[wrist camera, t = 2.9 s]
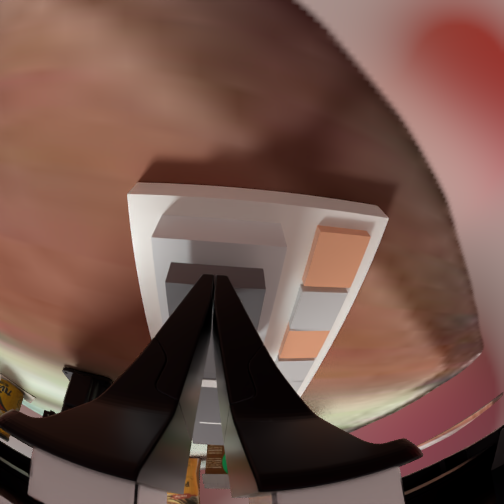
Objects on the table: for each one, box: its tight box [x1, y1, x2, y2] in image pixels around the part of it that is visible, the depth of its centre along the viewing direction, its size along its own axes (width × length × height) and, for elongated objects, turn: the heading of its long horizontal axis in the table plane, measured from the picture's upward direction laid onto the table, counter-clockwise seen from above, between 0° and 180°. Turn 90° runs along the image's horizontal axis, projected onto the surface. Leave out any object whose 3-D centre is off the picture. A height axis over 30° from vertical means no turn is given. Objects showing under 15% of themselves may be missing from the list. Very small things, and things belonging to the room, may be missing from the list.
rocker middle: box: [195, 372, 221, 423], centre depth 16 cm, size 6×4×1 cm, turn 173°
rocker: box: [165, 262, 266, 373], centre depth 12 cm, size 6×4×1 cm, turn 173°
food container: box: [202, 445, 230, 489], centre depth 30 cm, size 12×6×10 cm, turn 24°
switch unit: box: [127, 182, 389, 397], centre depth 18 cm, size 23×13×4 cm, turn 173°
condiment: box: [0, 374, 35, 442], centre depth 27 cm, size 7×8×12 cm
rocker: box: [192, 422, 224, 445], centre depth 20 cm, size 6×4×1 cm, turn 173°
